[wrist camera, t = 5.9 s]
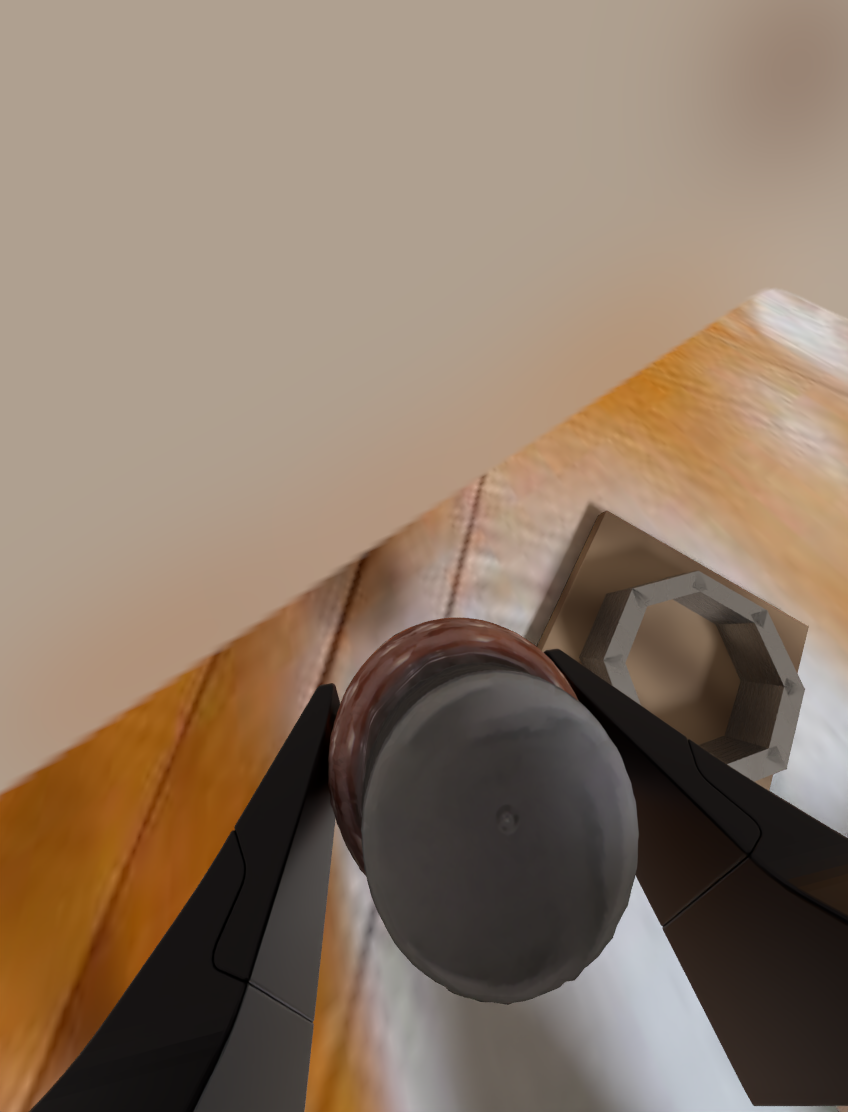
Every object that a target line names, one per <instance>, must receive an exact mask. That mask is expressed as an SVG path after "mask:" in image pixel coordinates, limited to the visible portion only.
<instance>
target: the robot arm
mask: <svg viewBox="0 0 848 1112" xmlns="http://www.w3.org/2000/svg"><path fill="white" fill-rule="evenodd" d="M543 653H544V654H545V655H547V656H548V657H549V658H550V659H551V660H552V661H553V663H554V664H555V665H556V666H557V668H558V669H559V670H560V671H561V673H562V674H563V675H564V676H565V678H566V680H567V681H568V683H569V685H570V686H571V688H572V689H573V691H574V693H575V695H576V697H577V699H578V701H579V702H581V703H582V704H583V705H584V706H585V707H586V708H587V709H588V710H589V711H590V712H591V713H592V715H593V716H594V717H595V718H596V719H597V720H598V722H599V723H600V724H601V725H602V727H603V728H604V730H605V731H606V733H607V735H608V736H609V738H610V739H611V740H612V742H613V743H614V745H615V746H616V747H617V749H618V751H619V753H620V755H621V758H622V760H623V763H624V766H625V769H626V772H627V774H628V776H629V779H630V781H631V784H632V790H633V794H634V797H635V800H636V809H637V820H638V831H639V838H638V862H637V870H636V874H635V875H636V877H637V879H638V881H639V883H640V885H641V887H642V889H643V891H644V893H645V895H646V897H647V899H648V901H649V903H650V905H651V907H652V909H653V911H654V913H655V914H656V916H657V918H658V920H659V922H660V924H661V926H663V931H664V933H665V935H666V937H667V939H668V941H669V943H670V944H671V946H672V948H673V950H674V952H675V954H676V956H677V958H678V960H679V962H680V964H681V966H682V968H683V970H684V972H685V974H686V976H687V978H688V980H689V982H690V984H691V986H692V988H693V990H694V992H695V994H696V996H697V998H698V1000H699V1002H700V1004H701V1006H702V1007H703V1009H704V1011H705V1013H706V1015H707V1017H708V1019H709V1021H710V1023H711V1025H712V1027H713V1029H714V1031H715V1033H716V1035H717V1037H718V1039H719V1041H720V1043H721V1045H722V1047H723V1049H724V1051H725V1053H726V1055H727V1057H728V1059H729V1061H730V1063H731V1065H732V1067H733V1069H734V1070H735V1072H736V1074H737V1076H738V1078H739V1080H740V1082H741V1084H742V1086H743V1088H744V1090H745V1092H746V1094H747V1095H748V1097H749V1099H750V1101H751V1103H752V1104H753V1105H754V1106H835V1107H836V1109H837V1110H838V1112H848V838H846V837H845V836H843V835H841V834H840V833H838V832H836V831H834V830H833V829H831V828H830V827H828V826H826V825H825V824H823V823H821V822H820V821H818V820H816V819H815V818H813V817H811V816H810V815H808V814H807V813H805V812H803V811H802V810H800V809H798V808H797V807H795V806H793V805H792V804H790V803H788V802H787V801H785V800H784V799H782V798H780V797H779V796H777V795H775V794H774V793H772V792H770V791H769V790H767V789H765V788H764V787H762V786H761V785H759V784H757V783H756V782H754V781H753V780H751V779H749V778H748V777H746V776H745V775H743V774H741V773H740V772H738V771H737V770H735V769H733V768H732V767H730V766H729V765H727V764H726V763H724V762H723V761H721V760H720V759H719V758H717V757H716V756H714V755H713V754H711V753H710V752H708V751H707V750H705V749H704V748H702V747H701V746H699V745H698V744H696V743H695V742H694V741H692V740H691V739H687V737H686V736H685V735H683V734H682V733H680V732H679V731H677V730H676V729H675V728H673V727H672V726H670V725H669V724H667V723H666V722H664V721H663V720H662V719H660V718H659V717H657V716H656V715H654V714H653V713H651V712H650V711H649V710H647V709H646V708H644V707H643V706H641V705H640V704H638V703H637V702H635V701H634V700H633V699H631V698H630V697H628V696H627V695H625V694H624V693H622V692H621V691H620V690H618V689H617V688H615V687H614V686H612V685H611V684H609V683H608V682H607V681H605V680H604V679H602V678H601V677H599V676H598V675H596V674H595V673H594V672H592V671H591V670H589V669H588V668H586V667H585V666H583V665H582V664H581V663H579V662H578V661H576V660H575V659H573V658H572V657H570V656H569V655H568V654H566V653H565V652H563V651H562V650H560V649H557V648H556V649H549V650H545V651H544V652H543ZM339 707H340V701H339V698H338V694H337V690H336V686H335V685H334V684H333V683H330V684H324V685H320V686H319V687H318V688H317V689H316V691H315V693H314V694H313V696H312V698H311V699H310V701H309V703H308V704H307V706H306V708H305V709H304V711H303V713H302V714H301V716H300V718H299V719H298V721H297V723H296V724H295V726H294V728H293V729H292V731H291V733H290V734H289V736H288V738H287V739H286V741H285V743H284V745H283V746H282V748H281V750H280V751H279V753H278V755H277V756H276V758H275V760H274V761H273V763H272V765H271V766H270V768H269V770H268V771H267V773H266V775H265V776H264V778H263V780H262V781H261V783H260V785H259V786H258V788H257V790H256V791H255V793H254V795H253V797H252V798H251V800H250V802H249V803H248V805H247V807H246V808H245V810H244V812H243V813H242V815H241V817H240V818H239V820H238V822H237V823H236V825H235V827H234V828H235V830H233V831H232V832H231V833H230V835H229V836H228V838H227V840H226V842H225V843H224V845H223V847H222V848H221V850H220V852H219V853H218V855H217V857H216V858H215V860H214V861H213V863H212V865H211V866H210V868H209V869H208V871H207V873H206V874H205V876H204V877H203V879H202V881H201V882H200V884H199V885H198V887H197V888H196V890H195V891H194V893H193V894H192V896H191V897H190V899H189V900H188V902H187V903H186V905H185V906H184V907H183V909H182V910H181V912H180V913H179V915H178V916H177V918H176V919H175V921H174V922H173V924H172V925H171V927H170V928H169V929H168V931H167V932H166V934H165V935H164V937H163V938H162V939H161V941H160V942H159V944H158V945H157V947H156V948H155V950H154V951H153V952H152V954H151V955H150V957H149V958H148V960H147V961H146V962H145V964H144V965H143V967H142V968H141V970H140V971H139V972H138V974H137V975H136V977H135V978H134V980H133V981H132V983H131V984H130V985H129V987H128V988H127V990H126V991H125V993H124V994H123V995H122V997H121V998H120V1000H119V1001H118V1003H117V1004H116V1006H115V1007H114V1008H113V1010H112V1011H111V1013H110V1014H109V1016H108V1017H107V1018H106V1020H105V1021H104V1023H103V1024H102V1025H101V1027H100V1028H99V1030H98V1031H97V1032H96V1034H95V1035H94V1036H93V1038H92V1039H91V1040H90V1042H89V1043H88V1044H87V1046H86V1047H85V1048H84V1049H83V1051H82V1052H81V1053H80V1055H79V1056H78V1057H77V1058H76V1059H75V1061H74V1062H73V1063H72V1064H71V1066H70V1067H69V1068H68V1069H67V1070H66V1072H65V1073H64V1074H63V1075H62V1076H61V1077H60V1079H59V1080H58V1081H57V1082H56V1083H55V1084H54V1085H53V1086H52V1088H51V1089H50V1090H49V1091H48V1092H47V1093H46V1094H45V1095H44V1096H43V1097H42V1098H41V1100H40V1101H39V1102H38V1103H37V1104H36V1105H35V1106H34V1107H33V1108H32V1109H31V1110H30V1111H29V1112H304V1110H305V1100H306V1091H307V1082H308V1072H309V1063H310V1054H311V1044H312V1035H313V1023H312V1022H313V1021H314V1015H315V1006H316V996H317V987H318V977H319V968H320V959H321V949H322V940H323V930H324V921H325V912H326V902H327V893H328V883H329V874H330V865H331V855H332V846H333V836H334V827H335V818H336V817H335V814H334V812H333V809H332V806H331V803H330V797H331V796H330V793H329V786H328V782H329V777H328V756H329V746H330V737H331V733H332V730H333V727H334V722H335V719H336V716H337V712H338V709H339Z"/></svg>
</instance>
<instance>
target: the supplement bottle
mask: <svg viewBox="0 0 848 1112" xmlns="http://www.w3.org/2000/svg"><path fill="white" fill-rule="evenodd" d="M328 777H329V782H328V786H329V793H330V796H331V797H330V803H331V806H332V809H333V812H334V814H335V817H336V821H337V824H338V826H339V829H340V831H341V834H342V837H343V839H344V841H345V844H346V846H347V848H348V850H349V851H350V853H351V855H352V857H353V859H354V860H355V862H356V863H357V865H358V866H359V868H360V870H361V871H362V872H363V873H364V874H365V875H366V877H367V881H368V885H369V888H370V892H371V895H372V898H373V901H374V903H375V906H376V908H377V911H378V913H379V915H380V917H381V919H382V921H383V923H384V924H385V927H386V929H387V931H388V932H389V934H390V936H391V938H392V939H393V941H394V943H395V944H396V945H397V947H398V948H399V949H400V950H401V952H402V953H403V954H404V955H405V956H406V957H407V958H408V960H409V961H410V962H411V963H412V964H413V965H414V966H415V967H417V968H418V969H419V970H420V971H421V972H423V973H424V974H426V975H427V976H428V977H430V978H431V979H432V980H434V981H435V982H437V983H439V984H441V985H443V986H445V987H446V988H447V989H448V990H449V991H450V992H452V993H454V994H457V995H460V996H463V997H466V998H471V999H475V1000H477V1001H480V1002H494V1003H501V1004H507V1005H508V1004H511V1003H514V1002H521V1001H526V1000H529V999H533V998H535V997H537V996H540V995H542V994H545V993H547V992H550V991H552V990H554V989H557V988H559V987H560V986H561V985H562V984H564V983H565V982H566V981H573V980H575V979H576V978H577V977H578V976H579V975H580V973H581V972H582V971H583V969H584V968H585V967H587V966H588V965H589V964H590V963H592V962H593V961H594V960H595V959H596V958H597V957H598V956H599V955H600V954H601V952H602V951H603V949H604V948H605V946H606V945H607V944H608V943H609V942H610V940H611V939H612V938H613V935H614V933H615V930H616V927H617V925H618V923H619V921H620V919H621V917H622V915H623V913H624V911H625V909H626V908H627V906H628V902H629V898H630V893H631V889H632V886H633V882H634V878H635V874H636V870H637V862H638V838H639V831H638V820H637V809H636V800H635V797H634V794H633V790H632V784H631V781H630V779H629V776H628V774H627V772H626V769H625V766H624V763H623V760H622V758H621V755H620V753H619V751H618V749H617V747H616V746H615V745H614V743H613V742H612V740H611V739H610V738H609V736H608V735H607V733H606V731H605V730H604V728H603V727H602V725H601V724H600V723H599V722H598V720H597V719H596V718H595V717H594V716H593V715H592V713H591V712H590V711H589V710H588V709H587V708H586V707H585V706H584V705H583V704H582V703H581V702H579V701H578V699H577V697H576V695H575V693H574V691H573V689H572V688H571V686H570V685H569V683H568V681H567V680H566V678H565V676H564V675H563V674H562V673H561V671H560V670H559V669H558V668H557V666H556V665H555V664H554V663H553V661H552V660H551V659H550V658H549V657H548V656H547V655H545V654H544V653H543V652H542V651H541V650H540V649H539V648H538V647H536V646H535V645H534V644H532V643H531V642H530V641H528V640H527V639H525V638H523V637H522V636H520V635H519V634H517V633H515V632H513V631H511V630H509V629H507V628H504V627H501V626H499V625H496V624H493V623H490V622H487V621H483V620H478V619H470V618H444V619H437V620H432V621H428V622H424V623H421V624H418V625H415V626H413V627H410V628H408V629H406V630H404V631H402V632H400V633H398V634H396V635H394V636H393V637H391V638H390V639H389V640H388V641H386V642H385V643H384V644H383V645H381V646H380V647H379V648H378V649H377V650H376V651H375V652H374V653H373V654H372V655H371V656H370V657H369V659H368V660H367V661H366V662H365V663H364V664H363V665H362V667H361V668H360V669H359V671H358V672H357V674H356V675H355V676H354V678H353V680H352V681H351V683H350V684H349V686H348V688H347V689H346V692H345V694H344V696H343V699H342V701H341V704H340V707H339V709H338V712H337V716H336V719H335V722H334V727H333V730H332V733H331V737H330V746H329V756H328Z"/></svg>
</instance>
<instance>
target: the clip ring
mask: <svg viewBox="0 0 848 1112" xmlns="http://www.w3.org/2000/svg"><path fill="white" fill-rule="evenodd" d="M671 599H673V600H674V601H676V602H678V603H679V604H681V605H683V606H685V607H686V608H688V609H690V610H692V611H693V612H695V613H697V614H698V615H700V616H702V617H704V618H705V619H707V620H709V621H710V622H712V623H714V624H716V626H717V629H718V631H719V633H720V635H721V638H722V640H723V642H724V644H725V647H726V649H727V651H728V654H729V656H730V658H731V660H732V663H733V665H734V667H735V670H736V672H737V674H738V676H739V679H740V684H739V688H738V691H737V695H736V698H735V702H734V705H733V709H732V712H731V715H730V719H729V722H728V726H727V729H726V733H725V736H722V737H719V738H716V739H713V740H711V741H708V742H705V743H702V744H700V745H699V746H701V747H702V748H704V749H705V750H707V751H708V752H710V753H711V754H713V755H714V756H716V757H717V758H719V759H720V760H721V761H723V762H724V763H726V764H727V765H729V766H730V767H732V768H733V769H735V770H737V771H738V772H740V773H741V774H743V775H745V776H746V777H748V778H749V779H751V780H753V781H754V782H755V781H757V780H760V779H762V778H765V777H767V776H770V775H772V774H775V773H778V772H780V771H783V770H785V769H787V764H788V760H789V756H790V751H791V747H792V743H793V738H794V734H795V730H796V725H797V721H798V717H799V712H800V708H801V704H802V699H803V695H804V691H805V688H804V687H803V684H802V682H801V680H800V678H799V676H798V674H797V672H796V670H795V668H794V666H793V663H792V661H791V659H790V657H789V655H788V653H787V651H786V649H785V647H784V645H783V642H782V640H781V638H780V636H779V634H778V632H777V630H776V628H775V626H774V624H773V621H772V619H771V617H770V615H769V613H768V610H766V609H764V608H762V607H761V606H759V605H757V604H755V603H754V602H752V601H750V600H748V599H747V598H745V597H743V596H741V595H740V594H738V593H736V592H735V591H733V590H731V589H729V588H728V587H726V586H724V585H722V584H721V583H719V582H717V581H715V580H714V579H712V578H710V577H708V576H707V575H705V574H703V573H702V572H700V571H693V572H689V573H684V574H680V575H675V576H670V577H666V578H664V579H660V580H656V581H652V582H649V583H645V584H641V585H638V586H634V587H630V588H627V589H623V590H619V591H615V592H611V593H606V596H605V598H604V600H603V603H602V605H601V607H600V610H599V612H598V614H597V617H596V619H595V621H594V624H593V626H592V628H591V631H590V633H589V635H588V638H587V640H586V642H585V645H584V647H583V649H582V652H581V654H580V656H579V658H580V661H581V664H582V665H583V666H585V667H586V668H588V669H589V670H591V671H592V672H594V673H595V674H596V675H598V676H599V677H601V678H602V679H604V680H605V681H607V682H608V683H609V684H611V685H612V686H614V687H615V688H617V689H618V690H620V691H621V692H622V693H624V694H625V695H627V696H628V697H630V698H631V699H633V700H634V701H635V702H637V703H638V704H640V701H639V698H638V696H637V693H636V690H635V688H634V685H633V682H632V680H631V677H630V674H629V671H628V669H627V666H626V660H627V657H628V655H629V652H630V650H631V647H632V645H633V642H634V639H635V637H636V634H637V632H638V629H639V627H640V624H641V621H642V619H643V616H644V614H645V611H646V609H647V606H650V605H653V604H657V603H661V602H664V601H668V600H671ZM640 705H641V704H640Z"/></svg>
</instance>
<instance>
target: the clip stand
mask: <svg viewBox="0 0 848 1112" xmlns="http://www.w3.org/2000/svg"><path fill="white" fill-rule="evenodd" d="M693 571H700V572H702V573H703V574H705V575H707V576H708V577H710V578H712V579H714V580H715V581H717V582H719V583H721V584H722V585H724V586H726V587H728V588H729V589H731V590H733V591H735V592H736V593H738V594H740V595H741V596H743V597H745V598H747V599H748V600H750V601H752V602H754V603H755V604H757V605H759V606H761V607H762V608H764V609H766V610H768V613H769V615H770V617H771V619H772V621H773V624H774V626H775V628H776V630H777V632H778V634H779V636H780V638H781V640H782V642H783V645H784V647H785V649H786V651H787V653H788V655H789V657H790V659H791V661H792V663H793V666H794V668H795V670H796V672H797V673H798V669H799V664H800V660H801V656H802V652H803V648H804V644H805V640H806V635H807V631H808V627H809V626H807V625H805V624H803V623H802V622H800V621H798V620H796V619H795V618H793V617H791V616H789V615H788V614H786V613H784V612H783V611H781V610H779V609H777V608H776V607H774V606H772V605H770V604H769V603H767V602H765V601H763V600H762V599H760V598H758V597H756V596H755V595H753V594H751V593H749V592H748V591H746V590H744V589H742V588H741V587H739V586H737V585H736V584H734V583H732V582H730V581H729V580H727V579H725V578H723V577H722V576H720V575H718V574H716V573H715V572H713V571H711V570H709V569H708V568H706V567H704V566H702V565H701V564H699V563H697V562H695V561H694V560H692V559H690V558H688V557H687V556H685V555H683V554H682V553H680V552H678V551H676V550H675V549H673V548H671V547H669V546H668V545H666V544H664V543H662V542H661V541H659V540H657V539H655V538H654V537H652V536H650V535H648V534H647V533H645V532H643V531H641V530H640V529H638V528H636V527H635V526H633V525H631V524H629V523H628V522H626V521H624V520H622V519H621V518H619V517H617V516H615V515H614V514H612V513H610V512H608V511H605V512H604V513H602V514H600V515H598V517H597V520H596V522H595V524H594V526H593V528H592V530H591V532H590V535H589V537H588V539H587V541H586V543H585V545H584V547H583V549H582V552H581V554H580V556H579V558H578V560H577V562H576V564H575V566H574V569H573V571H572V573H571V575H570V577H569V579H568V581H567V584H566V586H565V588H564V590H563V592H562V594H561V596H560V598H559V601H558V603H557V605H556V607H555V609H554V611H553V613H552V616H551V618H550V620H549V622H548V624H547V626H546V628H545V630H544V633H543V635H542V637H541V639H540V641H539V643H538V645H537V647H538V648H539V649H540V650H541V651H542V652H544V651H545V650H549V649H556V648H557V649H560V650H562V651H563V652H565V653H566V654H568V655H569V656H570V657H572V658H573V659H575V660H576V661H578V662H579V663H581V661H580V658H579V656H580V654H581V652H582V649H583V647H584V645H585V642H586V640H587V638H588V635H589V633H590V631H591V628H592V626H593V624H594V621H595V619H596V617H597V614H598V612H599V610H600V607H601V605H602V603H603V600H604V598H605V596H606V593H611V592H615V591H619V590H623V589H627V588H630V587H634V586H638V585H641V584H645V583H649V582H652V581H656V580H660V579H664V578H666V577H670V576H675V575H680V574H684V573H689V572H693ZM626 666H627V669H628V671H629V674H630V677H631V680H632V682H633V685H634V688H635V690H636V693H637V696H638V698H639V701H640V704H641V706H643V707H644V708H646V709H647V710H649V711H650V712H651V713H653V714H654V715H656V716H657V717H659V718H660V719H662V720H663V721H664V722H666V723H667V724H669V725H670V726H672V727H673V728H675V729H676V730H677V731H679V732H680V733H682V734H683V735H685V736H686V737H687V739H691V740H692V741H694V742H695V743H696V744H698V745H700V744H702V743H705V742H708V741H711V740H713V739H716V738H719V737H722V736H725V733H726V729H727V726H728V722H729V719H730V715H731V712H732V709H733V705H734V702H735V698H736V695H737V691H738V688H739V684H740V679H739V676H738V674H737V672H736V670H735V667H734V665H733V663H732V660H731V658H730V656H729V654H728V651H727V649H726V647H725V644H724V642H723V640H722V638H721V635H720V633H719V631H718V629H717V626H716V624H714V623H712V622H710V621H709V620H707V619H705V618H704V617H702V616H700V615H698V614H697V613H695V612H693V611H692V610H690V609H688V608H686V607H685V606H683V605H681V604H679V603H678V602H676V601H674V600H673V599H671V600H668V601H664V602H661V603H657V604H653V605H650V606H647V609H646V611H645V614H644V616H643V619H642V621H641V624H640V627H639V629H638V632H637V634H636V637H635V639H634V642H633V645H632V647H631V650H630V652H629V655H628V657H627V660H626ZM772 777H773V774H772V775H770V776H767V777H765V778H762V779H760V780H757V781H755V782H756V783H757V784H759V785H761V786H762V787H764V788H765V789H767V790H769V789H770V785H771V781H772Z"/></svg>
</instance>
